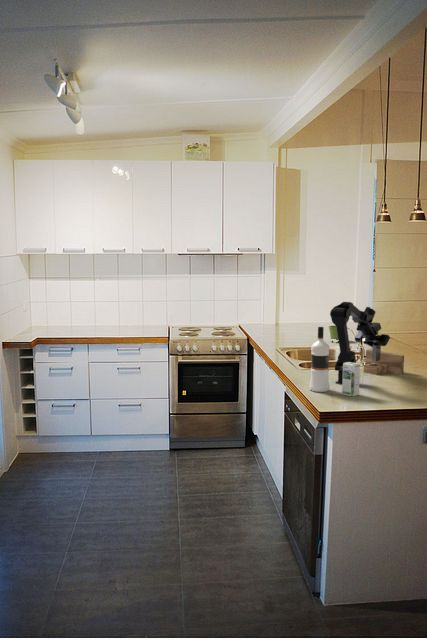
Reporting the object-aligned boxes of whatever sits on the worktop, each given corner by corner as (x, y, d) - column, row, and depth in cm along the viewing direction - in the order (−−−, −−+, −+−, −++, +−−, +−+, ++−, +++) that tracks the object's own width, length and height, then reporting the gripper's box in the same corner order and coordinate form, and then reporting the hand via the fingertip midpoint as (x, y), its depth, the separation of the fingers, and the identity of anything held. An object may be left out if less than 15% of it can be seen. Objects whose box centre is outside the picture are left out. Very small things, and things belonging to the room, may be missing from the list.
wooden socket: (388, 377, 279) (388, 358, 277) (353, 370, 296) (353, 352, 294) (403, 373, 287) (404, 355, 286) (368, 366, 304) (369, 349, 303)
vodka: (307, 387, 257) (308, 325, 253) (326, 387, 258) (328, 325, 254) (311, 392, 248) (313, 328, 244) (331, 392, 248) (333, 328, 245)
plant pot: (327, 343, 384) (327, 327, 382) (328, 340, 395) (329, 325, 393) (344, 343, 380) (344, 328, 379) (345, 341, 391) (345, 325, 390)
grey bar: (375, 361, 287) (376, 337, 286) (371, 360, 289) (372, 336, 287) (380, 360, 290) (381, 336, 288) (376, 359, 291) (377, 336, 290)
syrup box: (341, 394, 245) (342, 363, 243) (348, 392, 249) (349, 361, 247) (352, 396, 241) (353, 365, 239) (359, 394, 245) (360, 363, 243)
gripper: (388, 319, 277) (400, 338, 285) (358, 316, 291) (370, 334, 299) (379, 336, 273) (390, 355, 281) (349, 332, 287) (360, 350, 295)
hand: (378, 348), depth 289 cm, fingers closed on grey bar, 2 cm apart
